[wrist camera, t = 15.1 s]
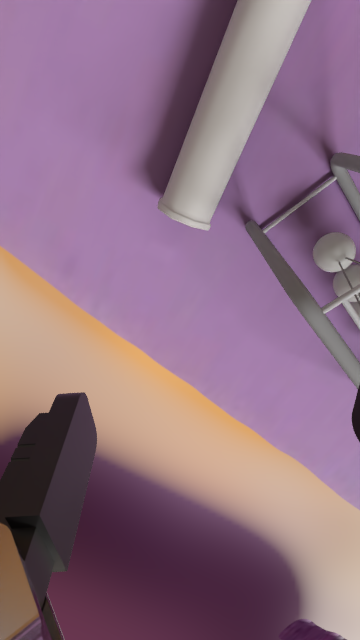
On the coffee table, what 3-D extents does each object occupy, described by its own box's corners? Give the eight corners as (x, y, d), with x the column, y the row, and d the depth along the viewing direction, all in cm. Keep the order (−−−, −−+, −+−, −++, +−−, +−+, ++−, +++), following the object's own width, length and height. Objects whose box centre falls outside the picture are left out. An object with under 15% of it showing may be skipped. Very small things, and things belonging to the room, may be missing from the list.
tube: (287, -183, 22) (149, 199, 33) (346, -237, 18) (166, 219, 29) (341, -118, 24) (196, 215, 36) (402, -152, 20) (217, 235, 32)
